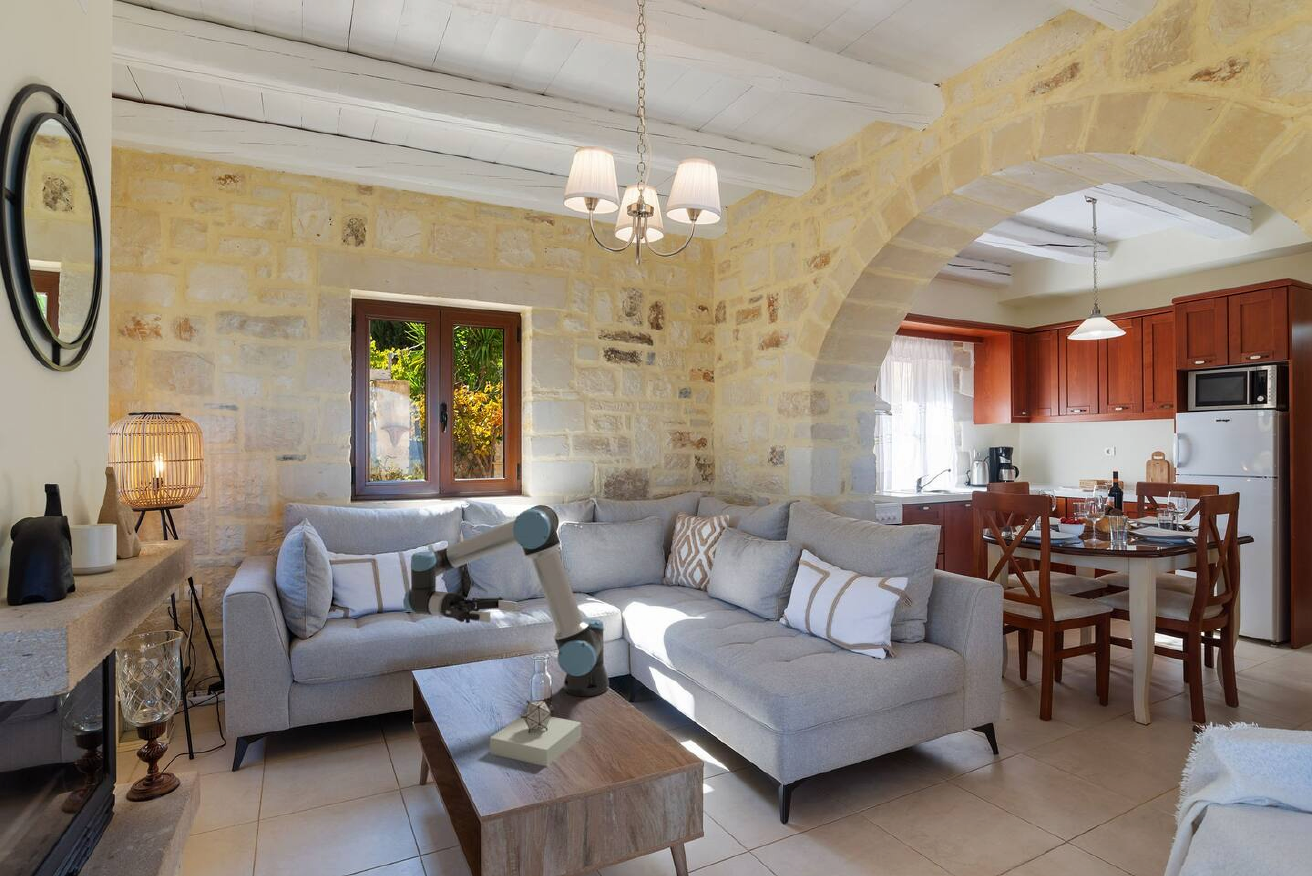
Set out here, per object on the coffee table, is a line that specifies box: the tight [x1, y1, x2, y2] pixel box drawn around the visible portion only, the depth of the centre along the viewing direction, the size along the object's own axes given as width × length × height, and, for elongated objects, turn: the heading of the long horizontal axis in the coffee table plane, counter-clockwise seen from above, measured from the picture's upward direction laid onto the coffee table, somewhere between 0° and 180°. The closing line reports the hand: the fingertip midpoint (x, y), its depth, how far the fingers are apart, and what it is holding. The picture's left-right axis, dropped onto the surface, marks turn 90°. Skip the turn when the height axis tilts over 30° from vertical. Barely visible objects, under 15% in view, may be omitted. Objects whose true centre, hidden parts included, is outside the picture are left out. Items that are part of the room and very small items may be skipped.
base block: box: [489, 714, 582, 767], centre depth 194 cm, size 18×18×5 cm
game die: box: [520, 698, 555, 733], centre depth 194 cm, size 9×8×10 cm
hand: (503, 612), depth 212 cm, fingers open, 13 cm apart
